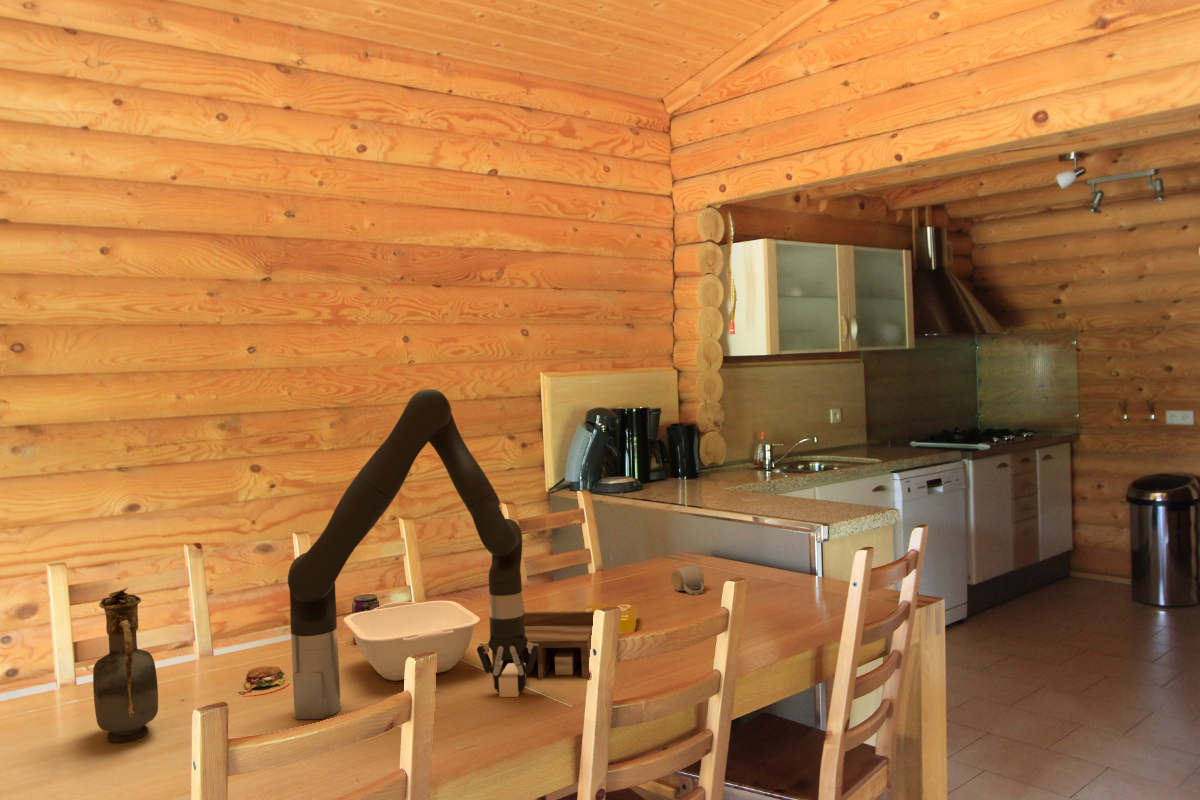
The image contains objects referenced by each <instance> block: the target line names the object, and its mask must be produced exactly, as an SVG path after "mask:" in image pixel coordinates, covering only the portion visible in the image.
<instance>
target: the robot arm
mask: <svg viewBox="0 0 1200 800" xmlns="http://www.w3.org/2000/svg"><path fill="white" fill-rule="evenodd" d="M428 443H430V445H431V446H432V447H433V449H434V450H435V452H436V453H437V455H438V457H439V458H440V461H441V462H442V463H443V465H444V467H445V470H446V472H447V473H448V475H449V478H450V479H451V483H452V484H453V486H454V488H455V490H456V492H457V493H458V496H459V497H460V499H461V501H462V503H463V504H464V506H465V507H466V509H467V511H468V512H469V514H470V516H471V517H472V521H473V524H474V526H475V529H476V532H477V534H478V536H479V539H480V541H481V543H482V545H483V546H484V548H485V549H486V550H487V552H489V553H490V554H491V565H490V567H489V571H488V589H489V591H488V592H489V595H488V597H489V599H488V612H489V613H488V617H489V640H488V642H485V643H480V644H479V645H478V646H477V648H476V651H477V654H478V657H479V659H480V661H481V664H482V667H483V669H484V672H485V673H486V674H489V673H490V674H492V675H494V679H493V688H494V689H495V691H497V693H499V677H500V676H501V674H502V673H500V671H501V667H502V662H503V660H514V661H513V663H515V666H516V667H517V671H518V676H517V677H518V692H520V693H522V692H524V691H523V690H525V688H526V685H527V684H526V682H527V677H526V678H525V673H526V674H528V673H531V672H532V671H533V669H534V667H535V663H536V661H535V660H536V657H537V653H538V650H539V646H540V645H539V643H535V644H534V643H531V642H528V640H527V638H526V636H525V622H524V612H525V605H524V598H523V591H522V590H523V589H522V587H523V585H522V583H523V582H522V573H521V572H522V571H521V567H522V566H521V565H522V554H523V534H522V529H521V528H520V525H519V524H518V523H517V522H516V521H515V520H513V519H510V518H505V516H504V514H503V512H502V510H501V507H500V503H501V502H500V501H501V500H500V498H499V496H498V494H497V492H496V490H495V489H494V487H493V485H492V484H491V482H490V481H489V480H490V479H488V477H487V476H486V473H485V472H484V470H483V469H482V467H481V466H480V464H479V463H478V462H477V460H476V458H475V457H474V456H473V454H472V452H470V450H469V448H468V447H467V445H466V443H465V441H464V440H463V437H462V435H461V434H460V432H459V430H458V428H457V424H456V422H455V419H454V416H453V412H452V407H451V404H450V402H449V400H448V398H447V397H446V395H444V394H443V392H441V391H440V390H437V389H433V388H425V389H421V390H420V391H418V392H415V394H413V395H412V396H411V398H409V400H408V403H407V404H406V406H405V408H404V409H403V411H402V413H401V415H400V417H399V418H398V420H397V422H396V423H395V425H394V427H393V429H392V431H391V432H390V433H389V435H388V436H387V438H386V439H385V440H384V442H382V444H381V445H380V446H379V447H378V448H377V450H376V451H375V452H374V453H373V454H372V456H371V457H370V458H369V459H368V460H367V461H366V463H365V464H364V466H363V467H362V468H361V469H360V470H359V472H358V473H357V475H356V476H355V477H354V479H353V480H352V481H351V482H350V484H349V486H347V489H346V490H345V491H344V493H343V494H342V496H341V498H340V500H339V502H338V503H337V505H336V507H335V509H334V511H333V513H332V515H331V517H330V519H329V521H328V523H327V525H326V526H325V529H324V530H323V532H322V533H321V534H320V536H318V539H316V541H315V542H314V543H313V545H312V546H311V547H310V548H309V549H308V550H307V551H306V552H304V553H302V554H300V555H298V556H297V557H296V558H294V560H293V561H292V563H291V565H290V567H289V571H288V573H287V574H288V575H287V586H288V590H289V603H290V604H289V605H290V606H289V607H290V609H289V610H290V611H289V615H290V616H289V617H290V618H289V619H290V620H289V621H290V623H289V624H290V639H291V641H290V643H291V644H290V645H291V662H292V663H291V664H292V689H293V707H294V708H293V711H294V713H293V714H294V719H295V720H324V719H325V718H327V717H330V716H332V715H334V714H336V713H338V712H340V710H341V709H342V708H341V704H342V703H341V687H340V686H341V685H340V684H341V683H340V665H339V664H340V663H339V647H338V646H339V643H338V642H339V641H338V623H337V622H338V621H337V620H338V619H337V617H338V616H337V614H338V613H337V600H336V599H337V597H336V595H337V594H336V581H337V579H338V577H339V575H340V574H341V571H342V570H343V568H344V566H345V565H346V563H347V561H348V559H349V558H350V557H351V555H352V553H353V552H354V550H355V549H356V548H357V547H358V545H359V544H360V543H361V542H362V541H363V540H364V538H365V537H366V536H367V535H368V534H369V532H371V530H372V529H373V528H374V527H375V525H376V523H378V521H379V520H380V518H381V517H382V516H383V515H384V513H386V511H387V509H388V508H389V507H390V505H391V503H392V502H393V501H394V499H395V498H396V496H397V495H398V493H399V492H400V490H401V488H402V486H403V484H404V483H405V480H406V479H407V476H408V474H409V473H410V470H411V468H412V467H413V464H414V463H415V460H416V458H417V457H418V455H419V454H420V453H421V451H422V450H423V448H425V447H426V445H427V444H428ZM526 647H527V648H528V652H529V653H530V654H531V655H530V658H529V661H527V664H525V665H524V663H525V661H523V656H522V652H523V651H524V649H525V648H526ZM490 650H491V652H492V651H493V652H494V654H495V655H496V660H495V666H493V662H492V661H491V660H492V659H491V658H490V655H489V652H490Z"/></svg>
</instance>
